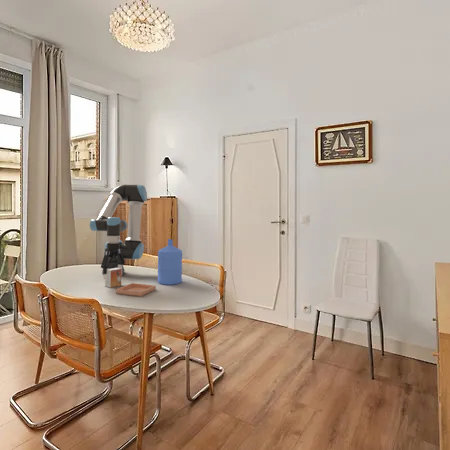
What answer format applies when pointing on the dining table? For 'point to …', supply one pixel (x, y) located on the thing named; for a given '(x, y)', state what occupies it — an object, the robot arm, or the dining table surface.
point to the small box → (114, 277)
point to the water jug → (169, 265)
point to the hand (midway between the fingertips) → (113, 277)
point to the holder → (136, 289)
